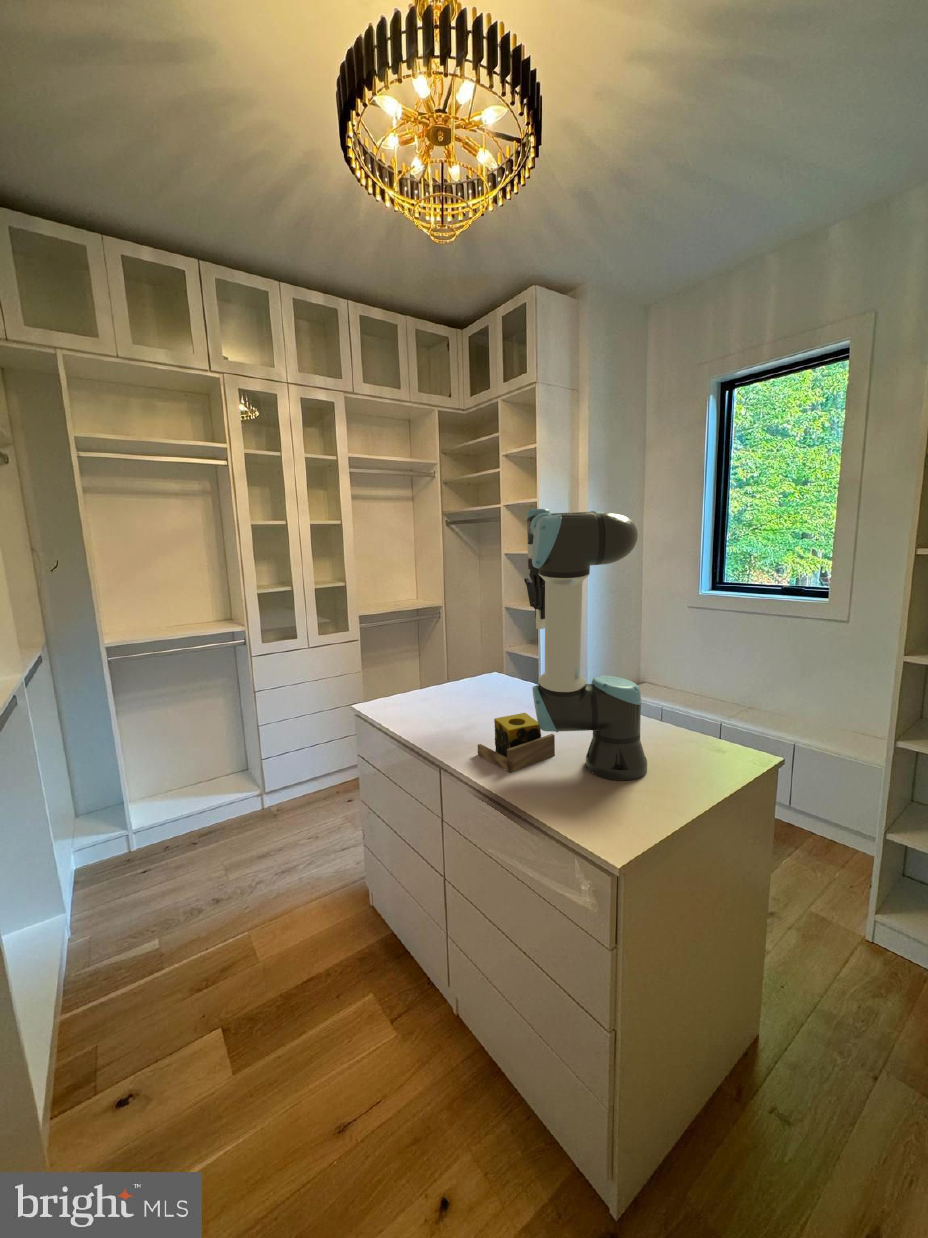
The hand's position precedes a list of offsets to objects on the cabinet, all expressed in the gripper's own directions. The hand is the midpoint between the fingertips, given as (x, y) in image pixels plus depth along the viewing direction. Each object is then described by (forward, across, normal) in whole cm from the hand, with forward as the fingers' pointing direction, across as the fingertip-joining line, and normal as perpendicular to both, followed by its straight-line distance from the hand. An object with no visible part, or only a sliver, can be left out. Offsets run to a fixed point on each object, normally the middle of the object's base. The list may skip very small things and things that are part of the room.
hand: (540, 628), depth 166 cm
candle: (+30, -20, +28) cm, 46 cm away
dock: (+29, -20, +29) cm, 46 cm away
